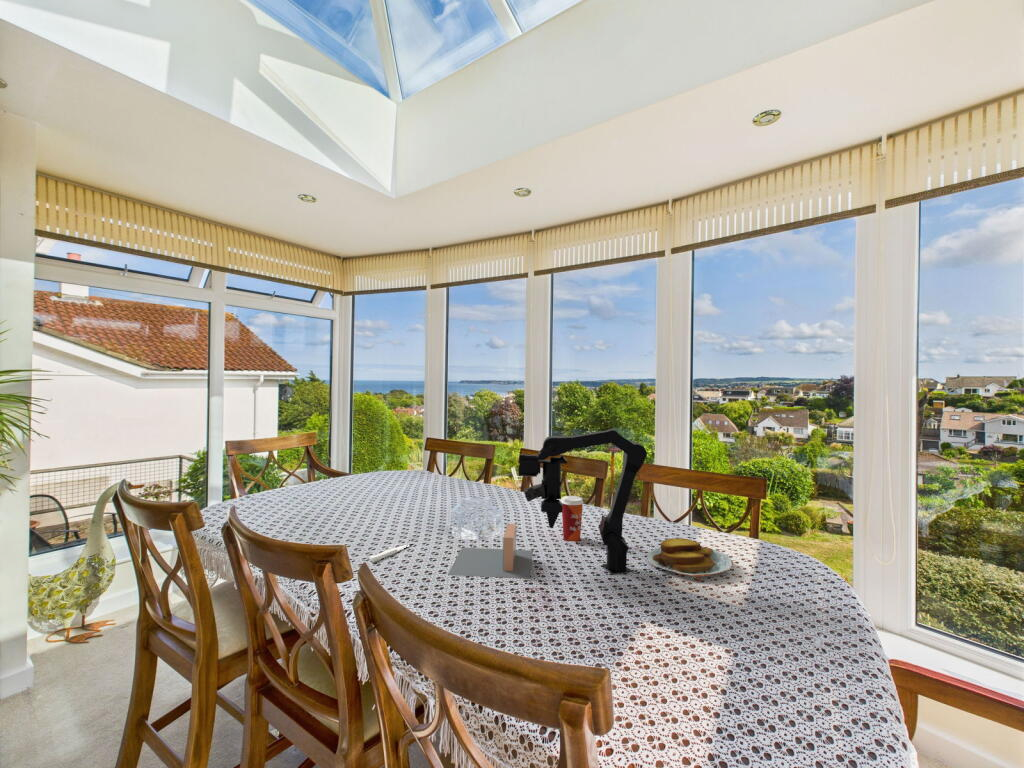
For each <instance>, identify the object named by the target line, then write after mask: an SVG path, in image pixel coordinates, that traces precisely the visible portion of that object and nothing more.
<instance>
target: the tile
mask: <svg viewBox="0 0 1024 768" xmlns="http://www.w3.org/2000/svg"><path fill="white" fill-rule="evenodd" d="M502 540H503V541H502V549H503V571H513V568H514V563H515V557H516V550H517V523H507V525H506V528H505V531H504V535H503V538H502Z"/></svg>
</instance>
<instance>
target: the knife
mask: <svg viewBox="0 0 1024 768" xmlns="http://www.w3.org/2000/svg"><path fill="white" fill-rule="evenodd" d="M407 547H409V545H408V546H407ZM404 548H406V545H404V546H402V545H401V546H397V547H388V548H387V550H384V551H382V552H379V554H375V555H370V556H369V562H371V561H372V562H371V563H376V562H375V561H377V562H379V561H381V559H382V558H384V559H386V558H388V557H387V556H389V555H391V556H393V555H395V554H394V553H396V552H397V553H398V552H401V551H403V550H405V549H404ZM409 548H410V547H409ZM406 549H407V548H406ZM400 550H401V551H400ZM397 553H396V554H397ZM392 554H393V555H392ZM385 557H386V558H385ZM389 557H390V556H389ZM378 560H379V561H378ZM382 560H383V559H382Z"/></svg>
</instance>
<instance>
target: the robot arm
mask: <svg viewBox="0 0 1024 768" xmlns="http://www.w3.org/2000/svg"><path fill="white" fill-rule="evenodd" d="M605 444H612V445H613V446H615V447H616V448H618V449H619V450H620V451H622V452H623V454H622V470H621V473H620V477H619V480H618V483H617V487H616V491H615V493H614V497H613V499H612V503H611V506H610V510H609V512H608V514H607V515H603V514H602V515H601V519H600V520H601V521H600V523H599V525H598V530H599V534H600V537H601V540H602V542H603V544H604V545H605V546H606V563H603V564H602V565H601V566H602V568H604V569H605V570H606V571H608V572H609V573H610V574H612V575H617V574H623V573H630V572H632V570H631V568H629V567H628V566H627V562H628V561H627V558H628V556H627V555H628V552H629V549H630V548H629V546H628V543H627V542H626V539H625V538H624V536H623V523H624V522H623V520H624V515H625V511H626V509H627V505H628V503H629V502H628V501H629V499H630V495H631V492H632V489H633V485H634V483H635V479H636V476H637V474H638V472H639V471H640V469H642V467H643V465H644V463H645V461H646V459H647V455H648V451H647V450H646V448H645V447H644V446H643V445H642V444H640V443H638V442H637V441H630V440H629V439H627V438H626V437H624V436H623V435H621V434H620V433H619V432H618V431H617V430H615V429H613V428H610V429H607V430H601V431H596V432H590V433H585V434H584V433H583V434H577V435H550V436H547V437H546V438H544V440H543V442H542V448H540V450H539V451H538V453H537V454H525V453H521V454H519V465H518V477H527V478H528V477H532V478H533V477H534V478H536V477H538V475H540V474H541V470H542V479H541V483H539V484H535V485H532V486H529V487H526V488H524V490H523V492H524V493H523V494H524V497H525V499H526V501H527V502H531V501H532V500H535V499H538V498H540V497H541V500H542V501H541V502H540V504H541V505H540V512H542V513H546V516H547V522H548V527H549V528H550V529H553V528H554V527H555V524H556V521H557V519H558V517H559V515H560V513H561V514H562V502H561V500H562V464H565V465H566V464H568V459H566V457H565V456H564V455H563V454H565V453H568V452H570V451H572V450H577V449H581V448H588V447H594V446H602V445H605ZM558 456H559V457H558ZM548 458H549V459H548ZM541 464H542V465H541ZM541 466H542V467H541ZM541 468H542V469H541Z"/></svg>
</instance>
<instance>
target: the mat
mask: <svg viewBox="0 0 1024 768" xmlns="http://www.w3.org/2000/svg"><path fill="white" fill-rule="evenodd" d="M533 551H534V550H533V549H532V550H527V549H516V557H515V563H514V568H513V571H503V548H479V547H461V548H460V550H459V553H458V554H457V556H456V558H455V560H454V562H453V564H452V566H451V567H450V569H449V571H448V574H447V576H458V577H460V576H461V577H477V578H478V577H481V578H499V579H500V578H504V579H525V580H526V579H527V580H530V579H531V573H532V562H533V554H534V553H533Z"/></svg>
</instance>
